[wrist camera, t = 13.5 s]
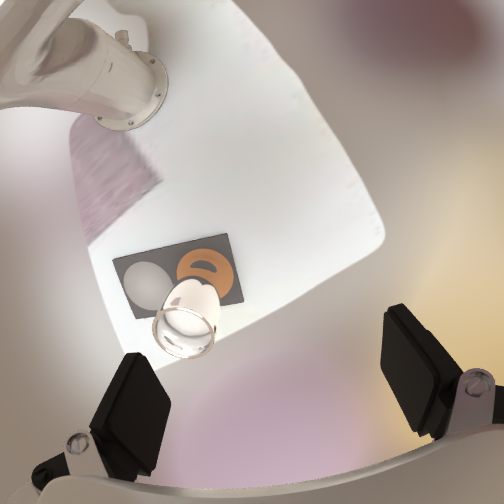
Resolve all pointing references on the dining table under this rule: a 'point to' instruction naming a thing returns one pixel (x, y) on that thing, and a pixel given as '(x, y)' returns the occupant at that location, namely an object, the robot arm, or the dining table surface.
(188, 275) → the beer glass
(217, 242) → the mat
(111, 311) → the dining table surface
